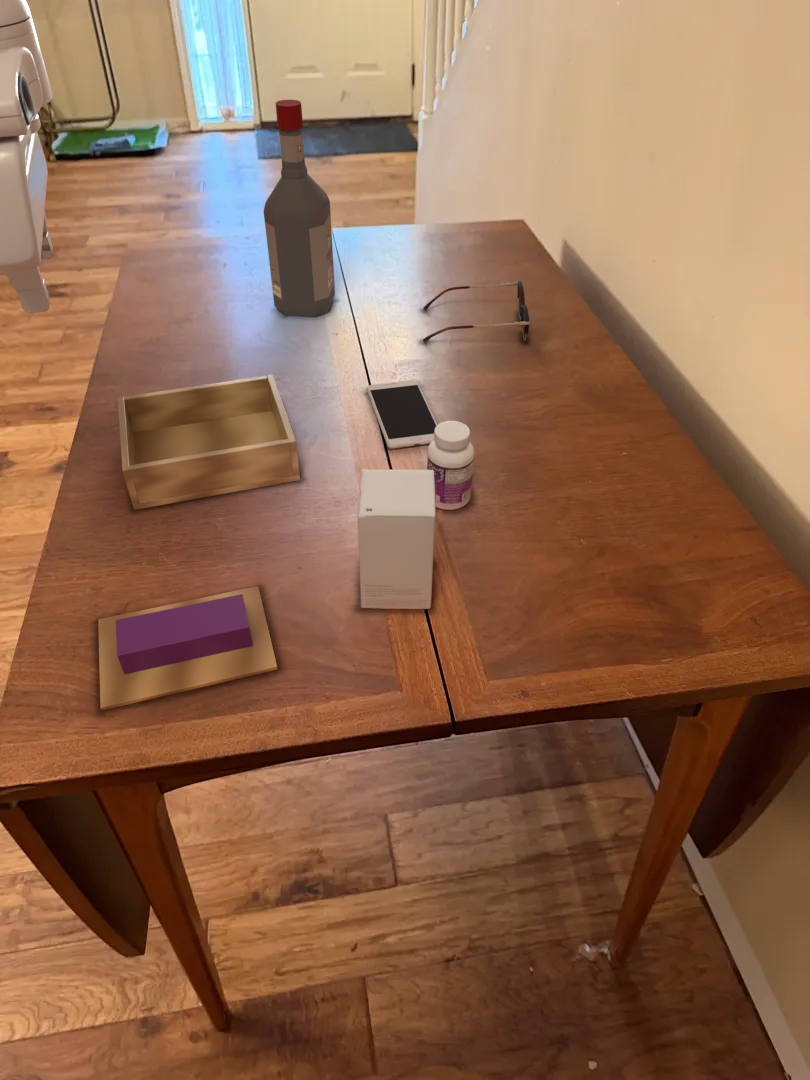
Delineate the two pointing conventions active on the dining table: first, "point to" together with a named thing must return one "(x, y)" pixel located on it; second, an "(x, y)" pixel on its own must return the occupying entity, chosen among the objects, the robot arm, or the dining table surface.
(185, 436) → the open wooden box
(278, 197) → the liquor
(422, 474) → the white packaging box
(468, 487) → the pill bottle
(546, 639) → the dining table surface
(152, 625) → the purple rectangular block
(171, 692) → the wooden board
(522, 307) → the sunglasses
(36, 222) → the robot arm
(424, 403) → the smartphone
